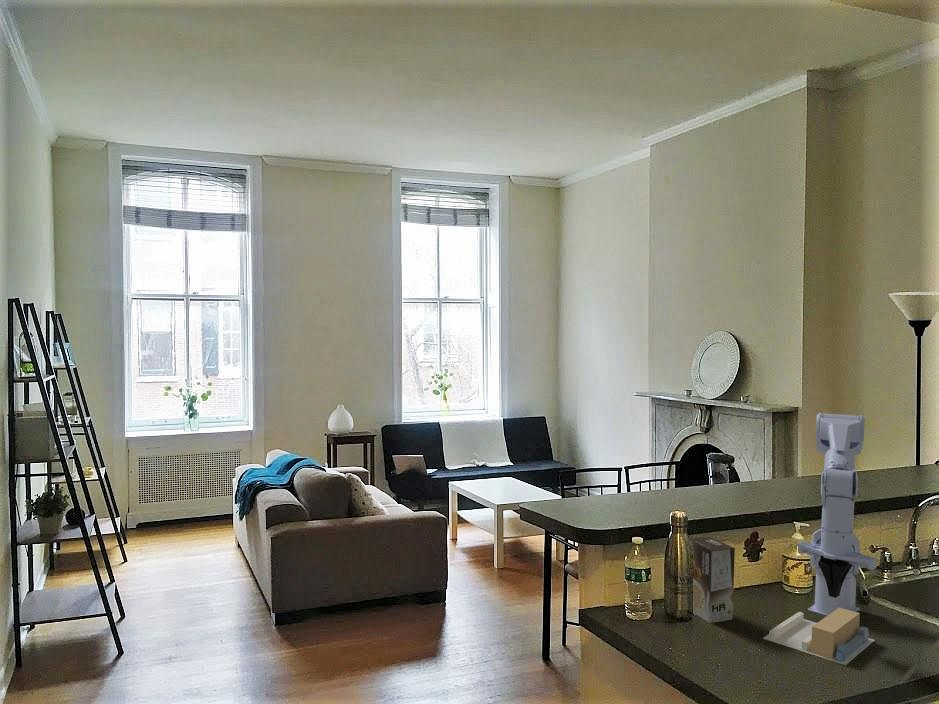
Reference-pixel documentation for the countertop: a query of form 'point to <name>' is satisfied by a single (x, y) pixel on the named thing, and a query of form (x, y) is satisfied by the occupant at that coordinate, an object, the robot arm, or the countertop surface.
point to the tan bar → (834, 631)
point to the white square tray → (800, 635)
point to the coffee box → (712, 579)
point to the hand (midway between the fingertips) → (834, 595)
